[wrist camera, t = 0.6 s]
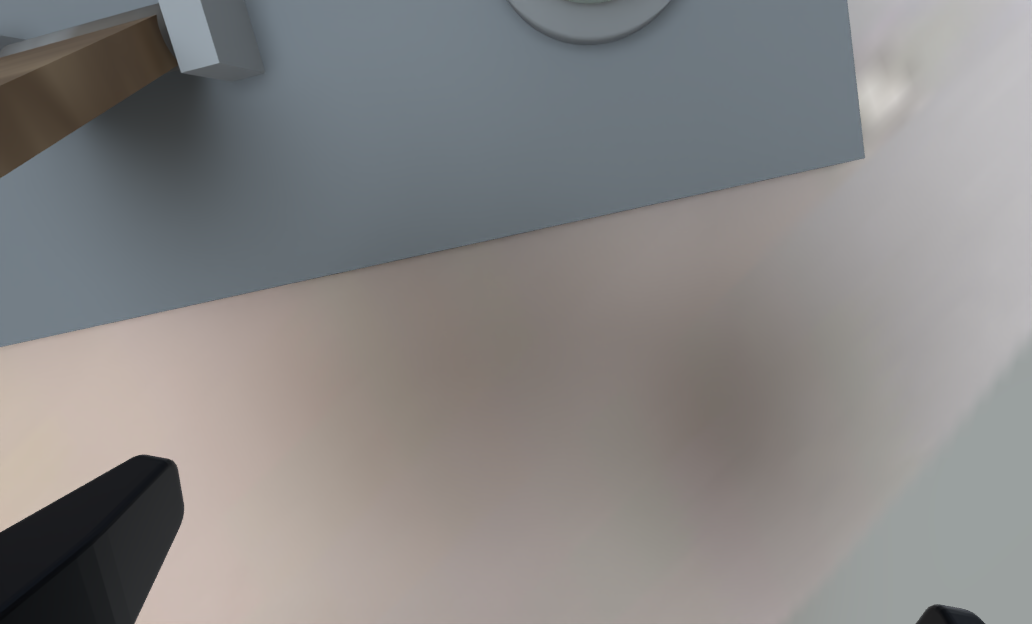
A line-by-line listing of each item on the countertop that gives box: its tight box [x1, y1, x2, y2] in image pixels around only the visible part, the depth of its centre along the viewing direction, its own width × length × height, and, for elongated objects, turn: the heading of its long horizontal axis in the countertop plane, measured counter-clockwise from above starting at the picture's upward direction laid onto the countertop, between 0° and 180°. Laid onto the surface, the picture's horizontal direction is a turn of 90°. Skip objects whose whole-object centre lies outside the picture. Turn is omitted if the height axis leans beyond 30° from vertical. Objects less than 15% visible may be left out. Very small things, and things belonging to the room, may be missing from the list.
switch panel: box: [0, 0, 865, 347], centre depth 19 cm, size 14×38×4 cm, turn 103°
